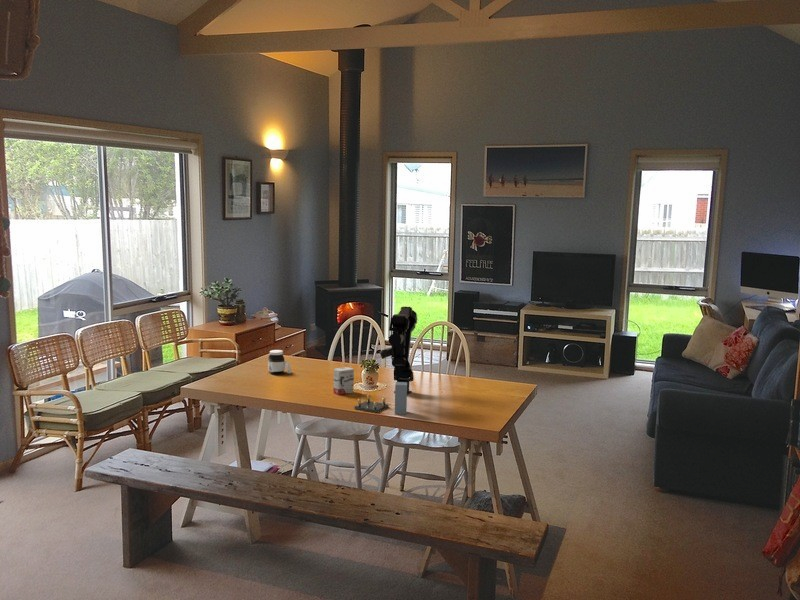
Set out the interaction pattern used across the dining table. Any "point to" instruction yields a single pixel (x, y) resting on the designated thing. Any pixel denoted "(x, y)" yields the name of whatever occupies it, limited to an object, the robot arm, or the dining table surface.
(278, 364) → the spread jar
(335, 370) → the ink box
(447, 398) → the dining table surface
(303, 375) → the dining table surface
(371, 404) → the base plate
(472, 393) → the dining table surface
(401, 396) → the post
